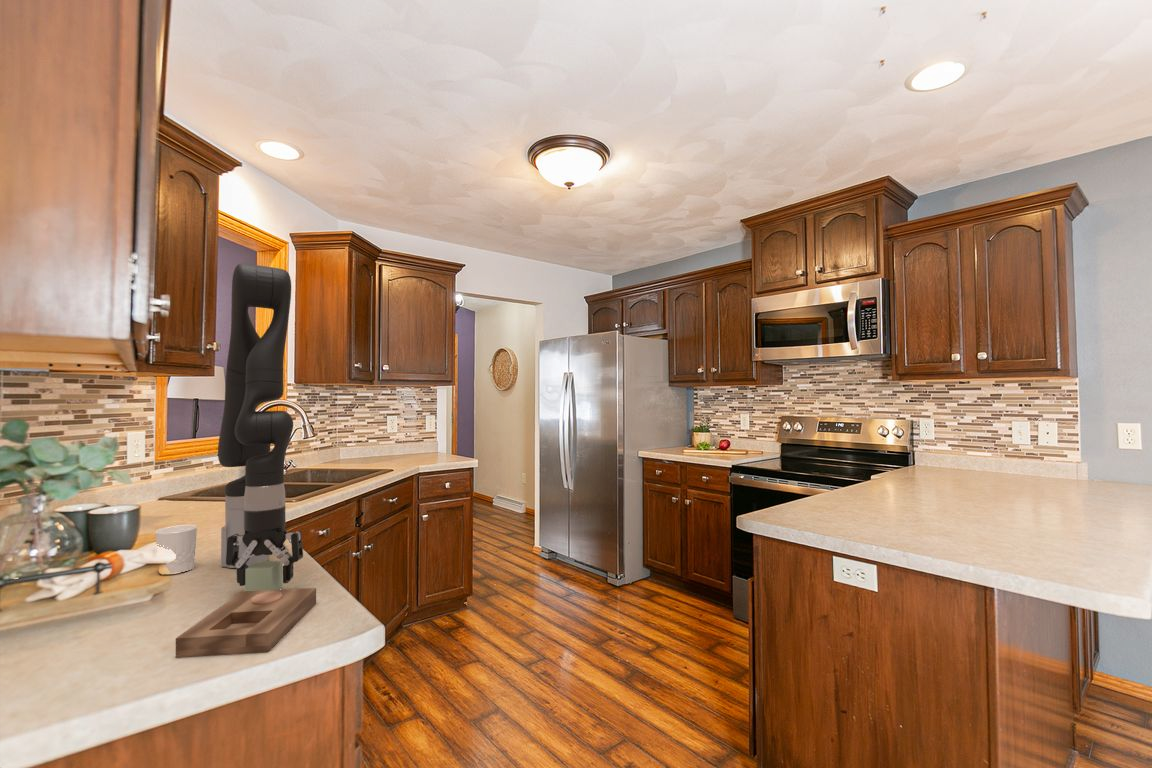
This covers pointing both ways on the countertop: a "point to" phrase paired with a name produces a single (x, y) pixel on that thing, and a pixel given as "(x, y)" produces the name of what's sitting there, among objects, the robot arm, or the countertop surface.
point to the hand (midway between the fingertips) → (265, 583)
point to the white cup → (179, 545)
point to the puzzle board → (247, 623)
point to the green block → (264, 576)
